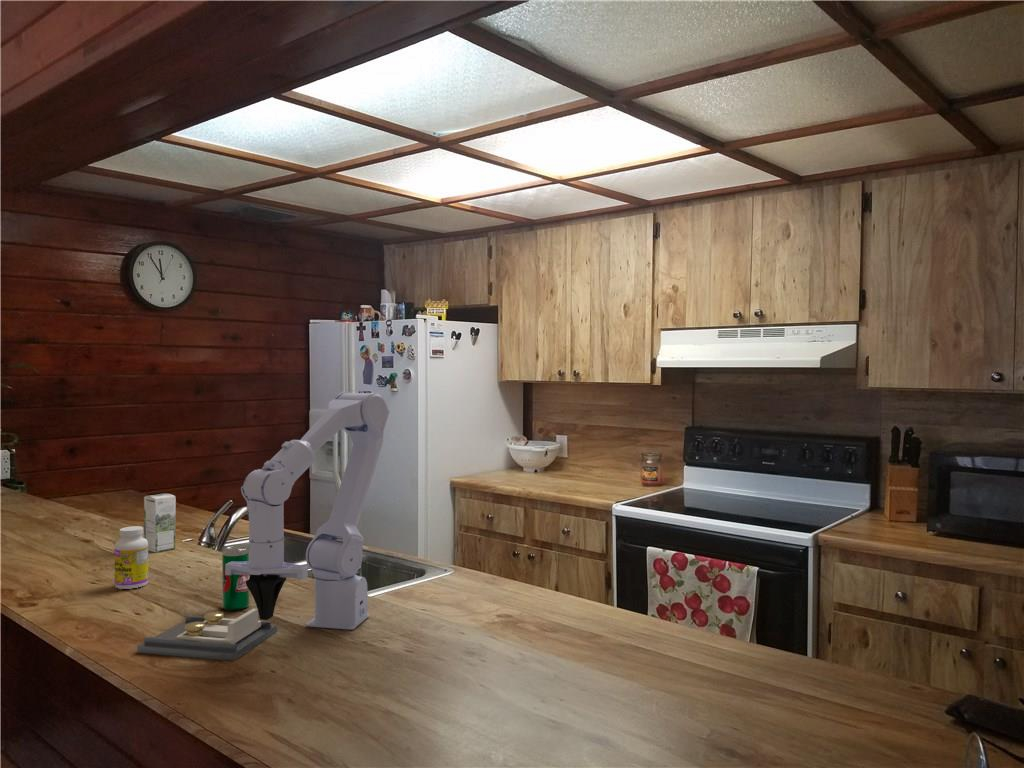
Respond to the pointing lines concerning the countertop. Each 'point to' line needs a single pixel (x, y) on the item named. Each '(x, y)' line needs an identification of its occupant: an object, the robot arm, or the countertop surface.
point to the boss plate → (203, 649)
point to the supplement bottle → (131, 559)
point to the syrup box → (160, 522)
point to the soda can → (235, 580)
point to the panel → (227, 629)
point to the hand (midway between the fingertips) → (266, 618)
